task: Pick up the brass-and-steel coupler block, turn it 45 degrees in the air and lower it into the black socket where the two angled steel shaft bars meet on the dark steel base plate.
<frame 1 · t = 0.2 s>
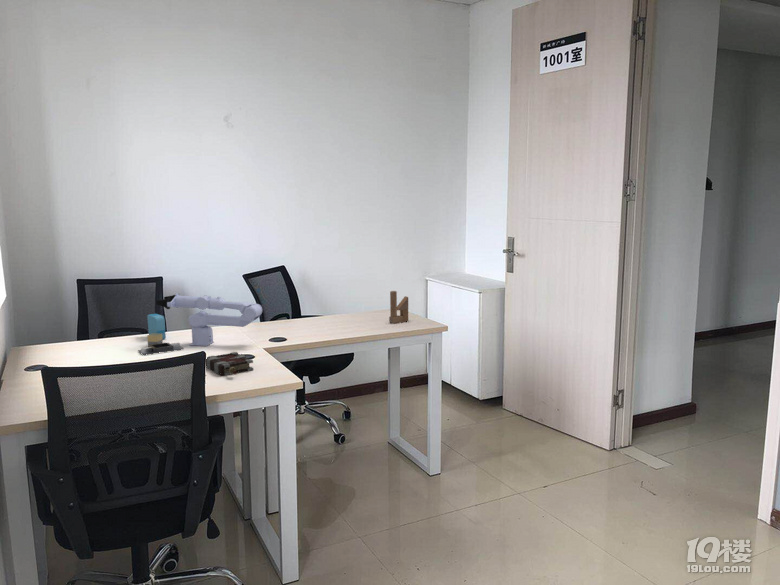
hand: (160, 300, 316), 21 cm above the table, tool horizontal, fingers open, 7 cm apart
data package: (157, 338, 329), on the table
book: (232, 371, 269), on the table
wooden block: (398, 322, 362), on the table
shaft rig: (161, 350, 304), on the table
coupler: (155, 346, 312), on the table
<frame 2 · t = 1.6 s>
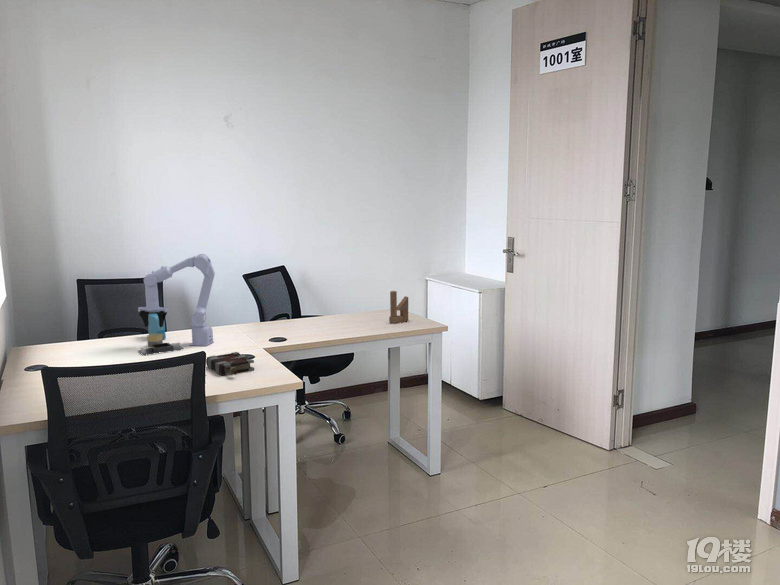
hand: (154, 326, 310), 10 cm above the table, tool pointing down, fingers open, 7 cm apart
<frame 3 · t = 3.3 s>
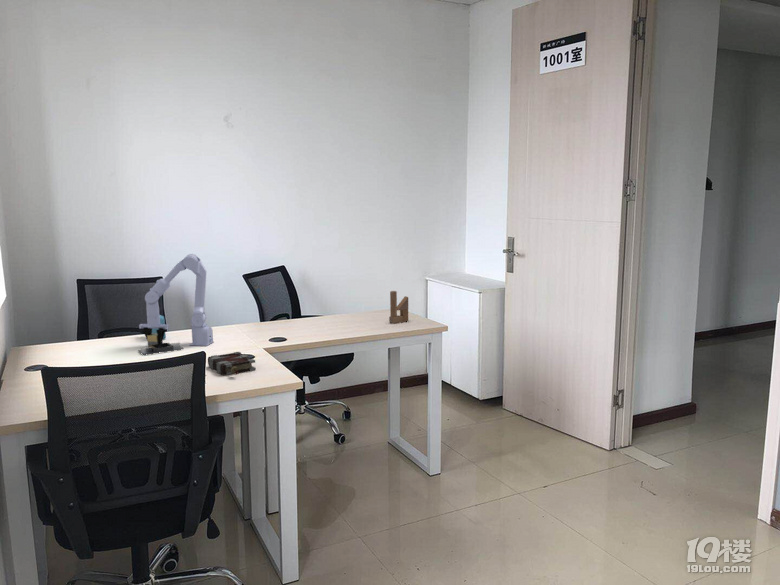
hand: (155, 343, 312), 2 cm above the table, tool pointing down, fingers closed on coupler, 5 cm apart
coupler: (155, 346, 312), on the table, touching gripper
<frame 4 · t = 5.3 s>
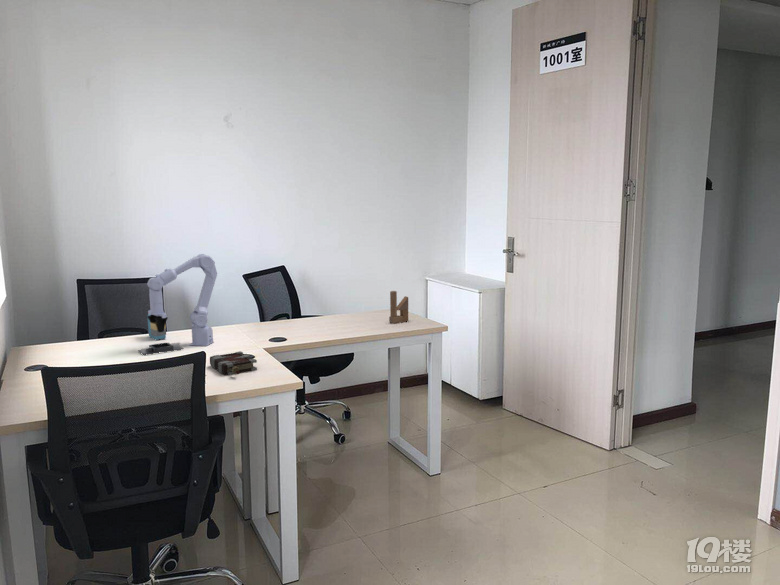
hand: (158, 331, 305), 9 cm above the table, tool pointing down, fingers closed on coupler, 5 cm apart
coupler: (158, 334, 305), point 7 cm above the table, touching gripper
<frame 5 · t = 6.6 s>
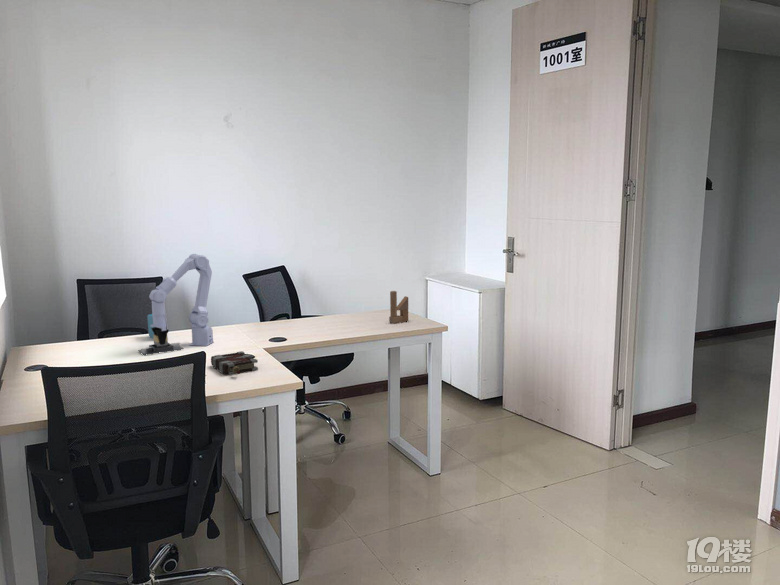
hand: (160, 343, 303), 4 cm above the table, tool pointing down, fingers closed on coupler, 5 cm apart
coupler: (161, 346, 304), point 2 cm above the table, touching gripper
when the fingers open (3 cm above the table, at t = 7.5 s): coupler stays where it is, resting on shaft rig.
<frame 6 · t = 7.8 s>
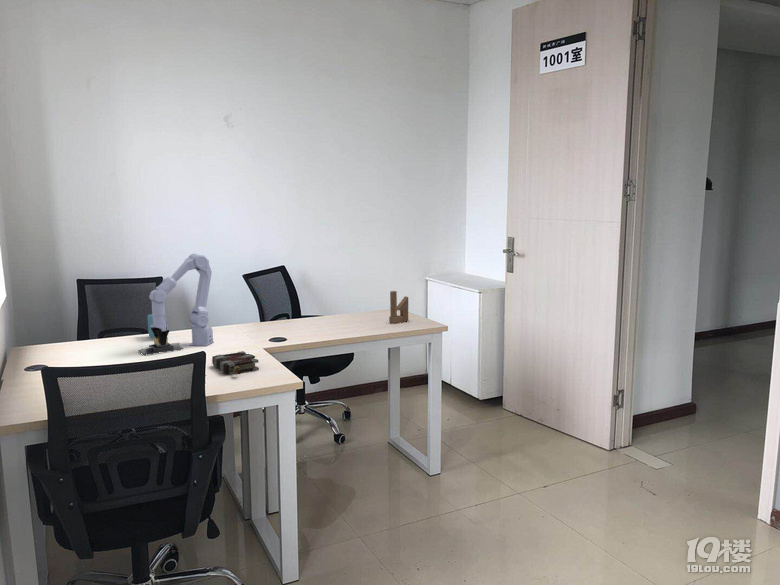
hand: (160, 343, 303), 3 cm above the table, tool pointing down, fingers open, 7 cm apart
coupler: (161, 349, 304), point 1 cm above the table, touching shaft rig
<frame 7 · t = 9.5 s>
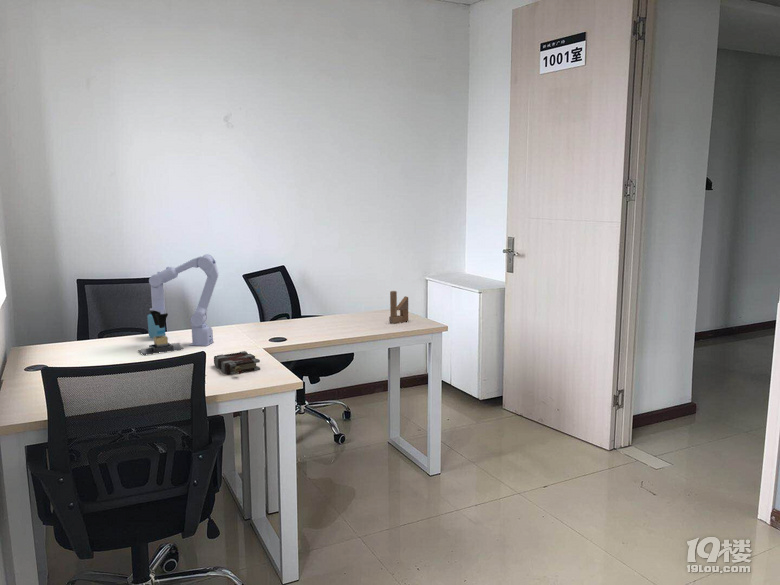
hand: (159, 326, 313), 9 cm above the table, tool pointing down, fingers open, 7 cm apart
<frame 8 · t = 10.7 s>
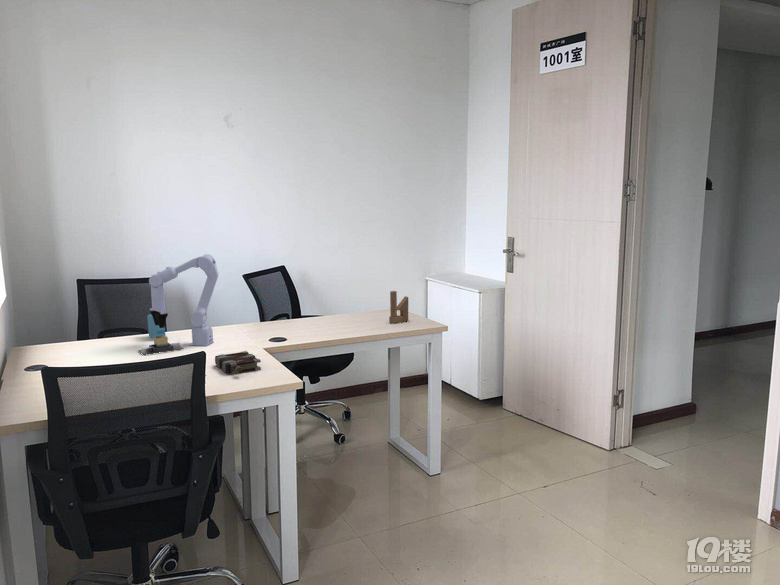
hand: (159, 326, 313), 9 cm above the table, tool pointing down, fingers open, 7 cm apart
at the end: coupler 0.0 cm off-centre on the shaft rig, point 0.6 cm above the shaft rig's base; coupler tilted 0°; the gripper is holding nothing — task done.
